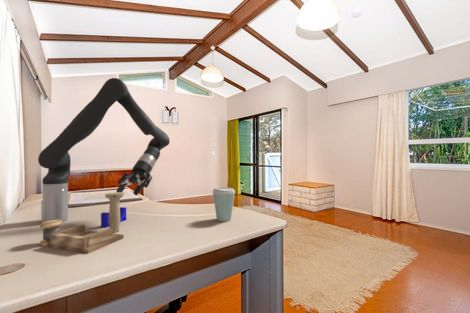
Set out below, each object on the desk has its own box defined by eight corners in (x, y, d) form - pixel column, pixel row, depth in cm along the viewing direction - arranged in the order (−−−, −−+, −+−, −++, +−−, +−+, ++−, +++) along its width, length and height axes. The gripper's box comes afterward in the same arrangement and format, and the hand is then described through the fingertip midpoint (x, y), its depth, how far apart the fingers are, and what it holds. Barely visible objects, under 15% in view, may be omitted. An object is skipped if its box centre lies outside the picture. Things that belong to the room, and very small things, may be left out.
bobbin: (35, 244, 78) (35, 223, 78) (54, 238, 83) (54, 219, 83) (48, 246, 76) (48, 225, 76) (66, 240, 82) (66, 220, 82)
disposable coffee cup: (235, 216, 114) (235, 186, 114) (235, 223, 103) (235, 189, 103) (213, 216, 114) (213, 186, 114) (211, 223, 103) (211, 189, 103)
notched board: (46, 246, 76) (46, 233, 76) (85, 233, 89) (85, 222, 90) (88, 253, 71) (88, 239, 71) (123, 238, 84) (123, 226, 84)
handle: (105, 231, 92) (105, 193, 92) (123, 228, 95) (123, 191, 95) (104, 234, 88) (105, 194, 88) (123, 232, 91) (123, 193, 91)
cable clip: (117, 219, 110) (117, 207, 110) (126, 220, 109) (126, 207, 109) (97, 227, 98) (97, 213, 98) (107, 228, 97) (107, 213, 97)
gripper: (128, 159, 108) (107, 187, 97) (154, 159, 104) (136, 188, 93) (136, 170, 113) (117, 198, 102) (161, 171, 109) (144, 199, 98)
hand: (126, 193), depth 98 cm, fingers open, 8 cm apart
